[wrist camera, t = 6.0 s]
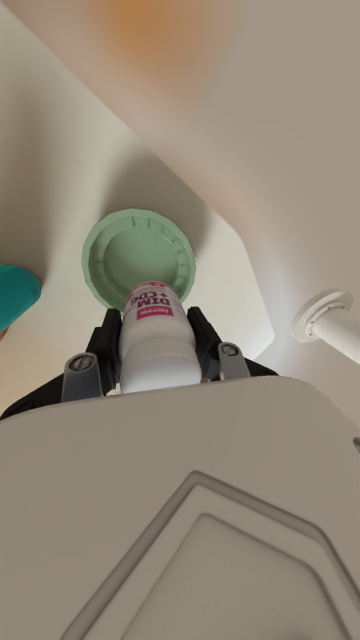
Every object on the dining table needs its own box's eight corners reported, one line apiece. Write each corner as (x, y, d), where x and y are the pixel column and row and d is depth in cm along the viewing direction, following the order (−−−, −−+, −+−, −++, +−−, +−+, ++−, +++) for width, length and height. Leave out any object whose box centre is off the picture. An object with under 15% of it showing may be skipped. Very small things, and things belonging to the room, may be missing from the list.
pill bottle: (160, 268, 13) (183, 328, 6) (186, 309, 16) (223, 383, 9) (113, 298, 13) (85, 385, 7) (146, 333, 16) (151, 420, 9)
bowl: (191, 215, 23) (203, 216, 19) (181, 304, 31) (188, 317, 27) (80, 203, 19) (65, 200, 15) (101, 306, 27) (95, 322, 23)
